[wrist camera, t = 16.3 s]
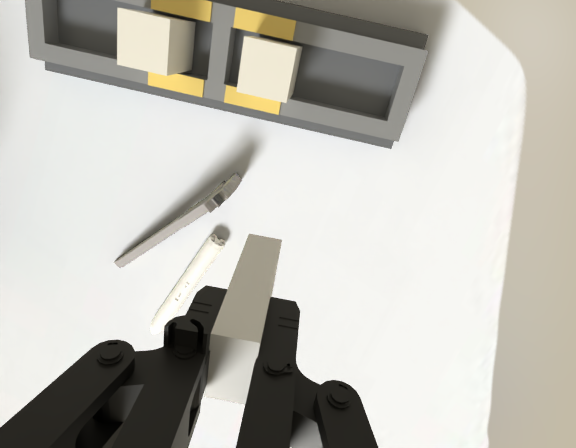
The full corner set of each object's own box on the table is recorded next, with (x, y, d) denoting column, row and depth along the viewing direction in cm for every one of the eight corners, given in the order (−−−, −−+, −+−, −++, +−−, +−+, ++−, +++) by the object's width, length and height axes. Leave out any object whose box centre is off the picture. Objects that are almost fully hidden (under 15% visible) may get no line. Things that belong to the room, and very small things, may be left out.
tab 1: (149, 60, 36) (117, 64, 31) (151, 12, 34) (117, 7, 29) (191, 70, 36) (166, 75, 31) (195, 22, 34) (170, 19, 29)
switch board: (58, 68, 39) (29, 71, 36) (51, -50, 35) (17, -60, 31) (388, 143, 39) (394, 155, 35) (423, 35, 35) (434, 34, 31)
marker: (161, 332, 54) (154, 344, 52) (148, 324, 53) (140, 336, 51) (227, 240, 46) (222, 250, 44) (212, 230, 46) (206, 240, 44)
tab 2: (250, 83, 36) (236, 91, 31) (258, 36, 34) (243, 36, 29) (293, 93, 36) (286, 103, 31) (302, 46, 34) (296, 48, 29)
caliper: (237, 170, 42) (222, 190, 37) (243, 178, 43) (229, 199, 37) (115, 260, 49) (87, 289, 44) (121, 266, 50) (94, 296, 44)
